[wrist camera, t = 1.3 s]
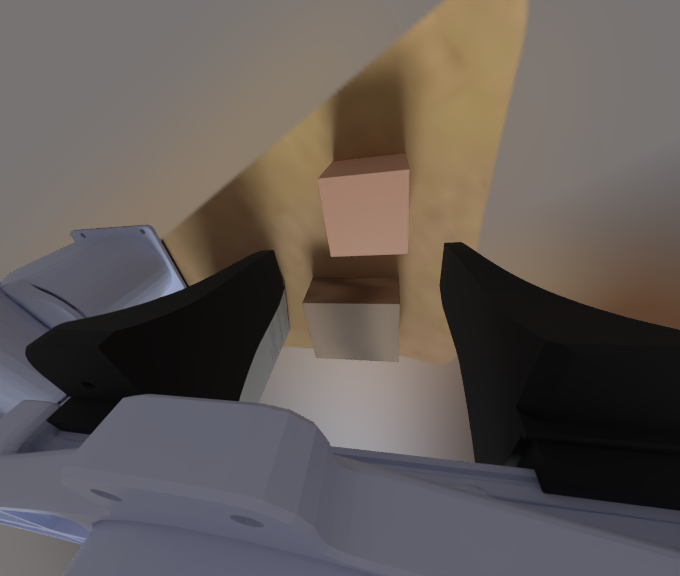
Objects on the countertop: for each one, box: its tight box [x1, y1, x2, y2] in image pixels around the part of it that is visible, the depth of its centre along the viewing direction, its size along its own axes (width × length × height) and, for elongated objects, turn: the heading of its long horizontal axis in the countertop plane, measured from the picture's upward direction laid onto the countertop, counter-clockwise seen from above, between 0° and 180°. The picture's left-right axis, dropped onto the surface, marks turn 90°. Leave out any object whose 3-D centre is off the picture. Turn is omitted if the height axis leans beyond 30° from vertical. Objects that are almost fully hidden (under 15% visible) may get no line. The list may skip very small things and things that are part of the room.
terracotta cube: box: [318, 153, 409, 257], centre depth 18 cm, size 5×5×5 cm
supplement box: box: [215, 273, 289, 403], centre depth 23 cm, size 7×7×13 cm
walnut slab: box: [302, 278, 400, 362], centre depth 25 cm, size 8×7×4 cm
